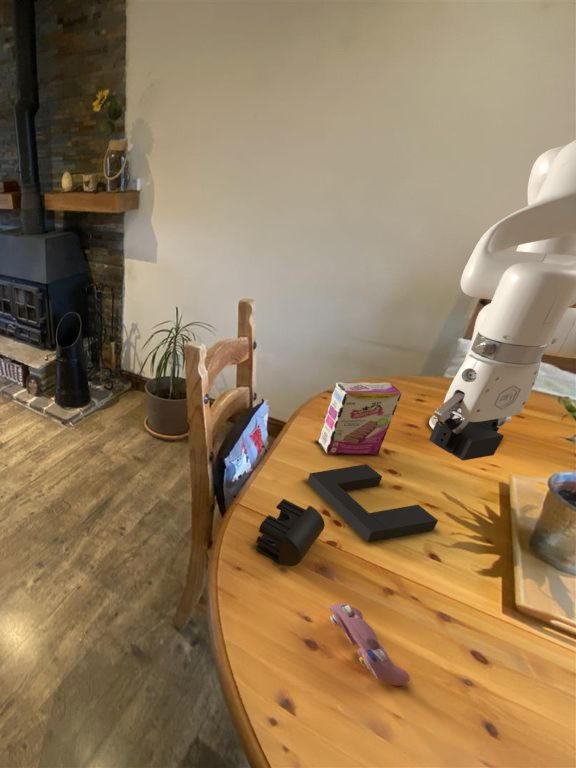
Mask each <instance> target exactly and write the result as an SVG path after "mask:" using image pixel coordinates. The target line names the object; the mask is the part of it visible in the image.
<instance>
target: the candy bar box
mask: <svg viewBox="0 0 576 768" xmlns="http://www.w3.org/2000/svg"><path fill="white" fill-rule="evenodd" d="M402 394H403V392H402V391H400V390H399V389H398V388H396V386H394V385H393V384H392V383H391V382H345V381H343V382H335V384H334V387H333V392H332V395H331V398H330V401H329V404H328V409H327V411H326V415H325V418H324V421H323V425H322V428H321V432H320V435H319V438H318V444H319V445H320V447H321V448H322V449H323V451H324V452H325V453H326V454H327V455H328V454H329V455H379V453H380V451H381V447H382V445H383V443H384V440H385V438H386V435H387V432H388V430H389V427H390V425H391V422H392V420H393V417H394V414H395V413H396V410H397V407H398V404H399V402H400V399H401V397H402Z"/></svg>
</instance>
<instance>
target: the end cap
mask: <svg viewBox="0 0 576 768" xmlns="http://www.w3.org/2000/svg"><path fill="white" fill-rule="evenodd" d="M276 509H277V510H279V515H278V517H277V518H275V517H274V516H272V515H270V514H268V515H267V516H266V517H265V518H264V520H263V521H262V522H261V523H260V525H259V530H258V533H260V534H262V535H261V536H260V535H258V536H257V538H256V548H255V549H256V551H258V552H259V553H260V554H262V555H264V556H265V557H267V558H268V559H270V560H272V561H274V562H276V563H277V564H279V565H283V566H287V567H293V566H297V565H299V563H301V562H302V560H303V559H304V558H305V556H306V555H307V553H308V552H309V550H310V549H311V548H312V546H313V545H314V543H315V542H316V541H317V539H319V536H320V535H321V534H322V532H323V531H324V529H325V527H326V526H325V520H324V518H323V516H322V515H321V513H320V512H319V511H318V510H317V509H316V508H314V507H312V506H311V505H308V507H307V508H306V509H305V508H303V507H301V506H299V505H297V504H295V503H293V502H291V501H289V500H287V499H285V498H282V500H280V502H279V503H278V504H277V505H276Z"/></svg>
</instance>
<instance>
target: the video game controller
mask: <svg viewBox="0 0 576 768" xmlns="http://www.w3.org/2000/svg"><path fill="white" fill-rule="evenodd" d="M328 607H329V610H330V612H331V614H332V616H331V615H330V617H329V618H330V621H331V623H332V625H334V626H335V627H336V626H337V625H338V626H339V627H340V628H341V630H342V632H343V634H344V635H345V637H346V638H347V640H348V641H349V643H350V644H351V645H352V646H355V645H357V646H358V647H359V648H358V650H357V654H358V656H359V658H358V660H359V662H360V663H361V664H362V665H365V667H366V668H367V669H368V670H370V672H371V673H372V674H373V675H374V677H375V678H376V679H377V680H381V681H383V682H384V683H386V684H389V685H392V686H398V687H399V686H405V685H406V684H408V683H409V681H410V679H411V678H410V675H409V673H408V672H407V671H406V670H404V669H403V668H401V667H398V666H397V665H396V664H395V663H394V662H393V661H392V659H391V657H390V656H389V654H388V653H387V651H386V650H385V648H384V647H383V645H382V644H381V643H380V641H379V639H378V637H377V634H376V632H375V630H374V629H373V628H372V626H371V625H369V624H368V623H367V622H366V621H365V620H364V619H363V618H364V617H363V616H364V615H363V613H362V611H361V610H360V609H358V608H356V607H354V606H351V605H350V604H348V603H346V602H345V603H344V602H342V603H341V602H340V603H337V604H336V603H335V604H331V605H330V606H328Z"/></svg>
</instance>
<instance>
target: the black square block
mask: <svg viewBox="0 0 576 768" xmlns="http://www.w3.org/2000/svg"><path fill="white" fill-rule="evenodd" d="M460 419H461V418H454V419H453V420H454V421H455V422H456V424H457V423H458V422H459V421H460ZM440 426H441V425H439V421H437V422H436V424H435V426H434V429H432V431H431V433H430V436H429V437H428V441H429V442H431V443H432V444H434V440H435V438H436V436H437V433H438V431H439V429H440ZM498 432H499V431H498ZM498 432H496V431H494V430H492V429H490V428H488V427H486V426H484V425H482V424H480V423H478V422H470V421H469V422H468V424H467V425H466V426H465V427H464V428H463V430H462V431H461V433H462V434H463V436H462V438H461V440H460V442H459V444H458V446H457V449H456V451H455V452H454V453H450V455H452V456H454V457H455V458H458V459H459V460H460V461H462V462H463V461H468V460H474V459H481V458H486V457H492V456H494V455H495V454H496V452H497V450H498V448H499V446H500V444H501V442H502V440H503V439H504V437H505V436H504V434H502V433H500V432H499V433H498Z"/></svg>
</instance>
